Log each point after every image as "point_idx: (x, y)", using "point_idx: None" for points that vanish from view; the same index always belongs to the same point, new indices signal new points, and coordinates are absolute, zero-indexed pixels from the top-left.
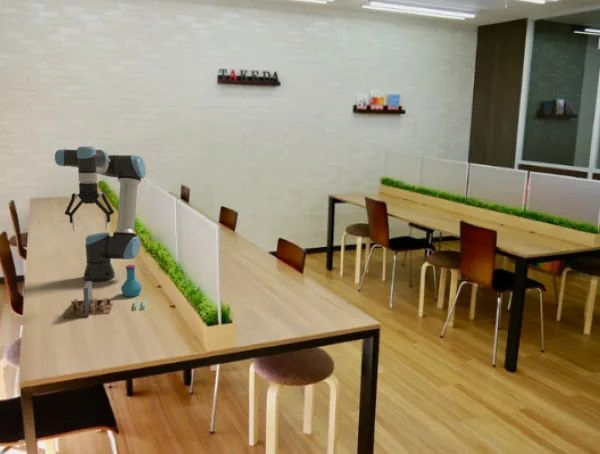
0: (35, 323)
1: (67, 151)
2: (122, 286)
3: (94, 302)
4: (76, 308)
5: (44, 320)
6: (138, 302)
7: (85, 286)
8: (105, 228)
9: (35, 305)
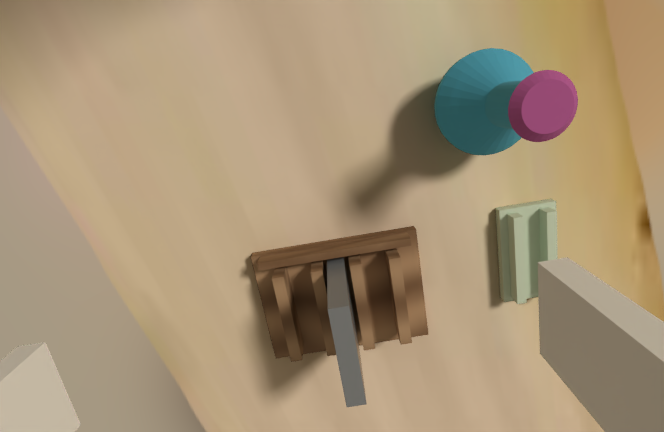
0: (206, 392)
1: None
2: (449, 126)
3: (368, 314)
4: (292, 289)
5: (221, 368)
6: (517, 210)
7: (347, 383)
8: (556, 371)
9: (102, 224)
